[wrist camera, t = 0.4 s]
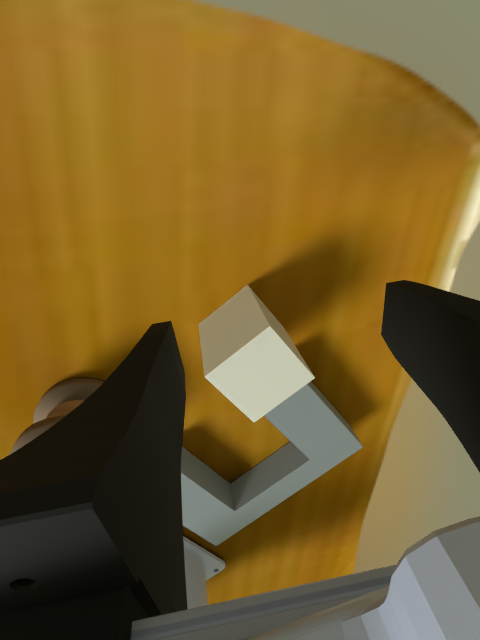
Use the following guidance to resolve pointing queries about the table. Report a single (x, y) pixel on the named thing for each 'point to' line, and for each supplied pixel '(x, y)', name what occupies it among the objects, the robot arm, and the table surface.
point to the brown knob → (57, 406)
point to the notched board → (267, 468)
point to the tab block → (251, 355)
